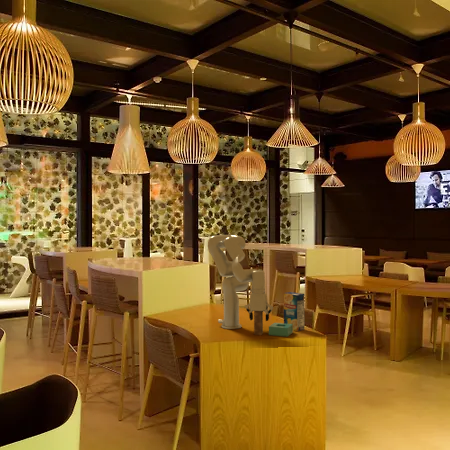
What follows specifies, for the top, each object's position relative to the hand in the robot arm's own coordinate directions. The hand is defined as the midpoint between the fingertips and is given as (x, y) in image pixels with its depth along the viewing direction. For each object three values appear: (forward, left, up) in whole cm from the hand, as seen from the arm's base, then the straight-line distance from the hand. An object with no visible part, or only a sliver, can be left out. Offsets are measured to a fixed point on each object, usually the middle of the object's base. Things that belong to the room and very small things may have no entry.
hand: (259, 320), depth 307 cm
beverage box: (+15, +21, -9) cm, 28 cm away
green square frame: (+11, +6, -8) cm, 15 cm away
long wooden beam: (-1, 0, -8) cm, 8 cm away
